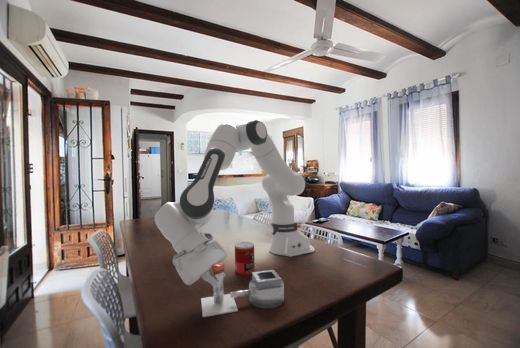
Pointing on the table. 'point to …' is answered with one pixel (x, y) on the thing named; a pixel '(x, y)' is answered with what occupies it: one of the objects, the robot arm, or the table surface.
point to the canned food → (244, 258)
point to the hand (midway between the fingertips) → (220, 281)
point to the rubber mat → (218, 306)
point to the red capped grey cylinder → (218, 289)
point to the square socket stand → (264, 290)
